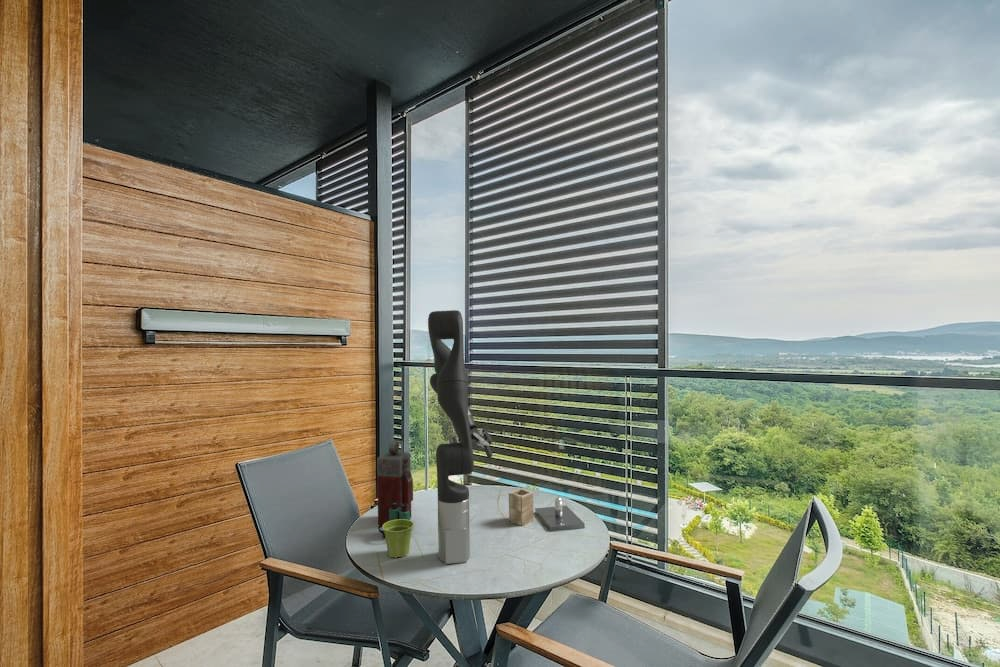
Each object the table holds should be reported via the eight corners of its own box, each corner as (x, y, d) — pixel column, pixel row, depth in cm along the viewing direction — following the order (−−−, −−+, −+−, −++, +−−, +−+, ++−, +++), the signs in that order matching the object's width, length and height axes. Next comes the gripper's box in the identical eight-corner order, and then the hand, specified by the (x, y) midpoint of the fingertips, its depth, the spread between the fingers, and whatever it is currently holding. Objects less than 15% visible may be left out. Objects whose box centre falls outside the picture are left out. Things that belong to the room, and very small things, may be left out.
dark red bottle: (408, 526, 170) (406, 444, 170) (377, 524, 172) (376, 443, 172) (417, 517, 179) (416, 439, 179) (388, 515, 181) (387, 438, 181)
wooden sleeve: (533, 520, 174) (533, 492, 174) (522, 525, 169) (521, 496, 169) (520, 516, 178) (520, 488, 178) (509, 521, 173) (508, 492, 173)
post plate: (584, 527, 167) (584, 504, 167) (550, 531, 164) (549, 507, 164) (566, 509, 184) (566, 488, 184) (535, 512, 182) (534, 491, 182)
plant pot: (420, 550, 152) (420, 521, 152) (402, 563, 143) (401, 533, 143) (395, 545, 156) (395, 517, 156) (375, 557, 147) (375, 528, 147)
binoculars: (372, 510, 160) (394, 497, 168) (375, 541, 160) (397, 528, 169) (392, 514, 155) (414, 502, 163) (395, 547, 156) (417, 533, 164)
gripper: (447, 419, 170) (465, 462, 163) (482, 409, 178) (501, 450, 171) (440, 428, 176) (458, 471, 169) (475, 419, 184) (493, 459, 177)
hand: (480, 460), depth 170 cm, fingers open, 8 cm apart
